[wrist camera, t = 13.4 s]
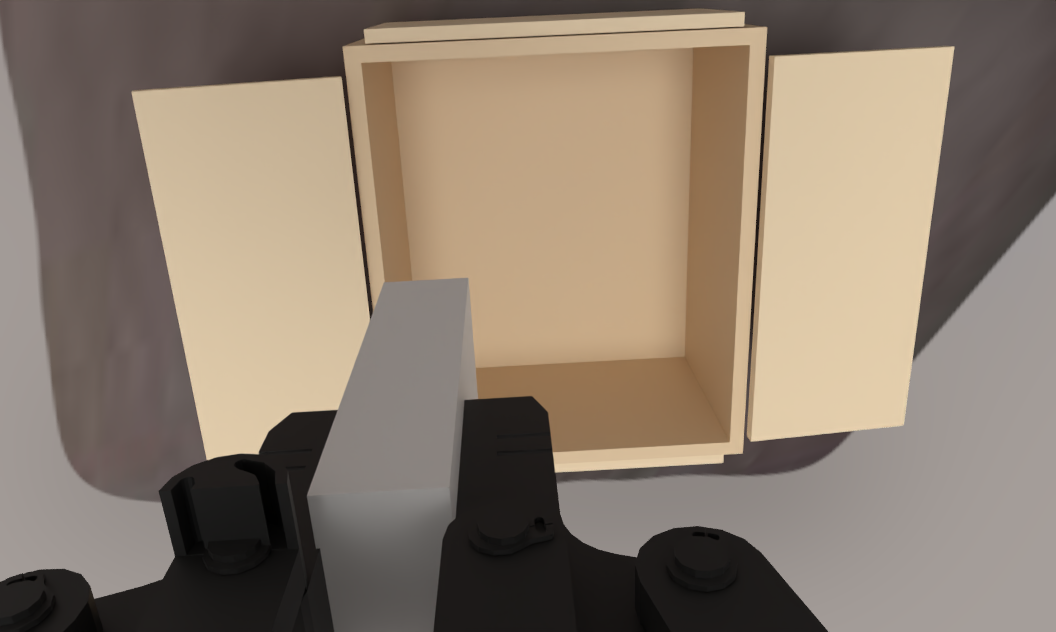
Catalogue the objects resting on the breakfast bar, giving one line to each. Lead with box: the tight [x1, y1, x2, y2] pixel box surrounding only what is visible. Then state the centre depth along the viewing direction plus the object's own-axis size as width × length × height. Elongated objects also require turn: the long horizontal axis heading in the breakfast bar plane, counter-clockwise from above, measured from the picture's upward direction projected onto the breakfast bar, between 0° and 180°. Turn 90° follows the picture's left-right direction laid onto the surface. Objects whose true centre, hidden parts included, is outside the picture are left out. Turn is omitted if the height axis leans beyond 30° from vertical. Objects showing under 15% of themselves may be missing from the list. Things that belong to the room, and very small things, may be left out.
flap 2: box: [747, 46, 954, 441], centre depth 34 cm, size 16×1×7 cm
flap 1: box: [132, 76, 370, 460], centre depth 33 cm, size 16×1×7 cm
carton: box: [343, 8, 767, 472], centre depth 39 cm, size 19×16×10 cm
